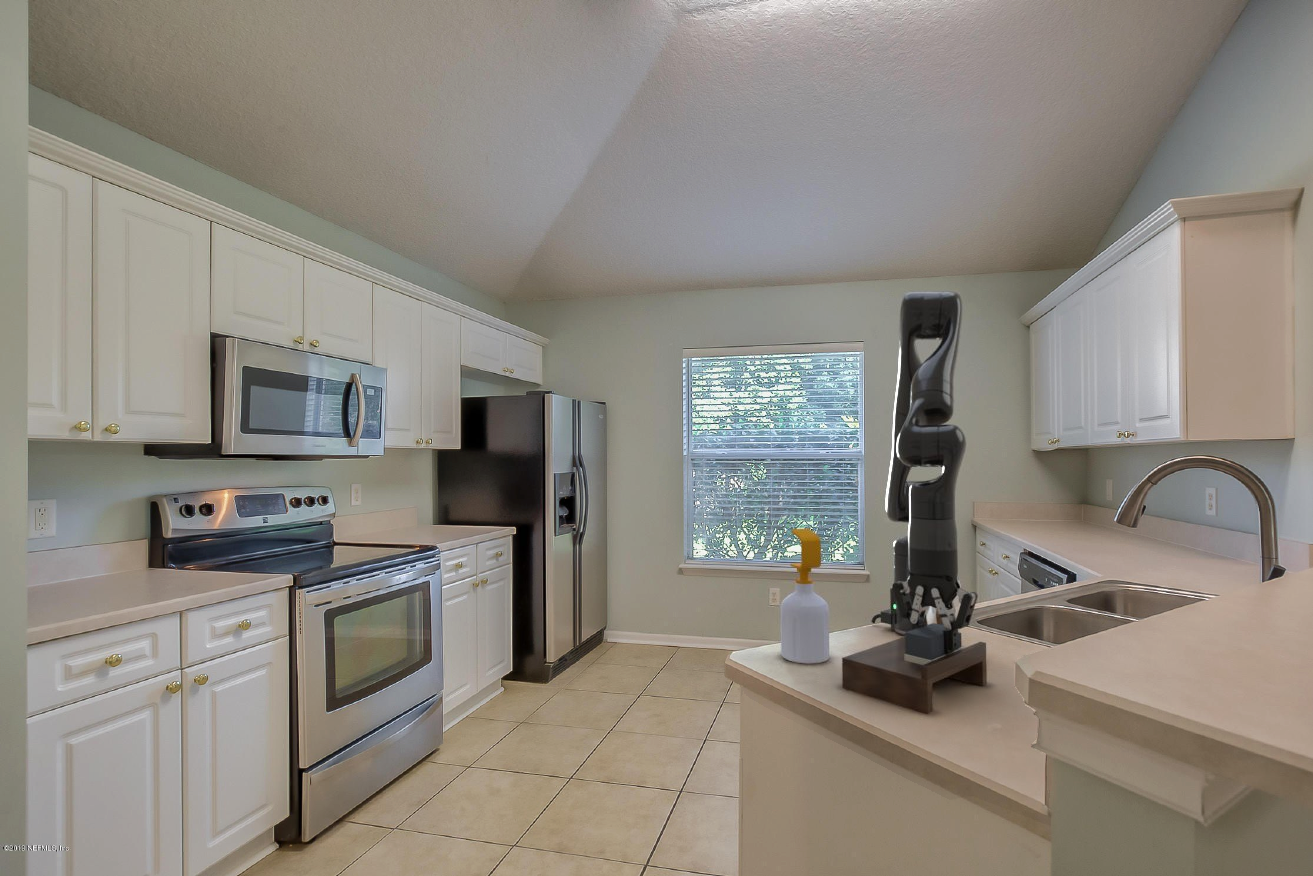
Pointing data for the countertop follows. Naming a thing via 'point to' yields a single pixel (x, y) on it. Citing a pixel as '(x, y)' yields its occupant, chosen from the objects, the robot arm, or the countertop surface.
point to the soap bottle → (805, 609)
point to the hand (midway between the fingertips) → (934, 648)
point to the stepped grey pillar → (927, 644)
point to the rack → (909, 673)
